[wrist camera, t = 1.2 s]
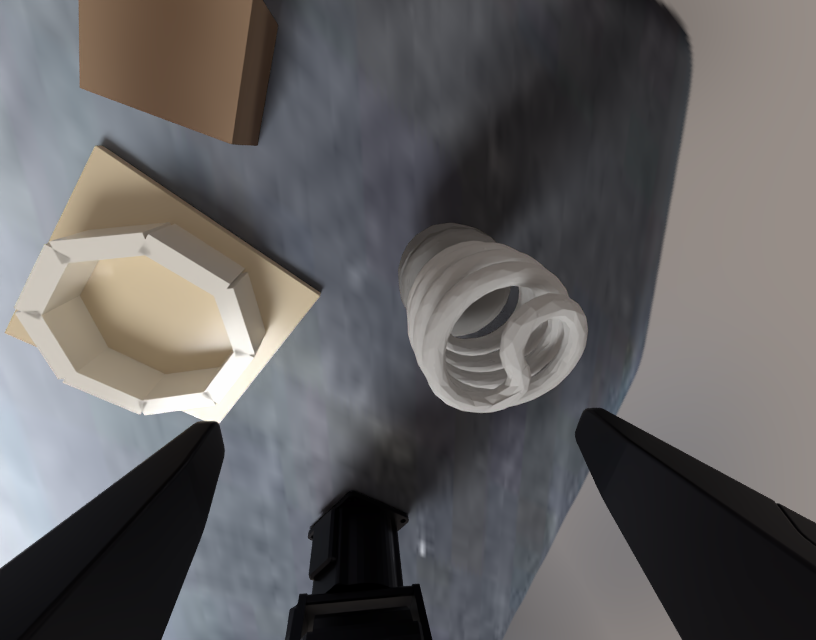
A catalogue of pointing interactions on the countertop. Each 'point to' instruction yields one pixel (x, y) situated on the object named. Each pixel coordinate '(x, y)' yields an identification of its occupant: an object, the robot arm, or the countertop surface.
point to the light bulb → (486, 319)
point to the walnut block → (182, 60)
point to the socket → (153, 298)
